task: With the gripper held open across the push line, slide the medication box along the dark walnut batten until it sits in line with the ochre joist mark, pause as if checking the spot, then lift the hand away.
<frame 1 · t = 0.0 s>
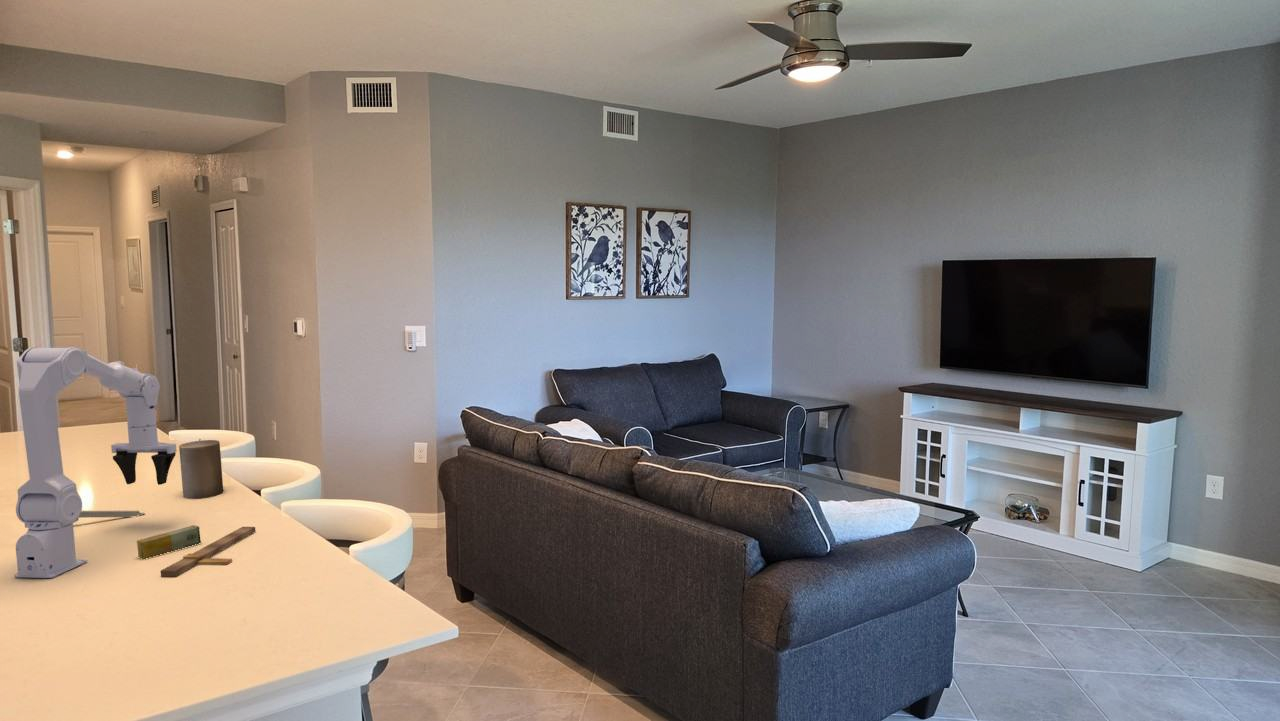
hand: (146, 483, 192), 10 cm above the counter, tool pointing down, fingers open, 7 cm apart
pillar candle: (203, 494, 222), on the counter
joist batten: (211, 552, 174), on the counter
medication box: (170, 552, 176), on the counter
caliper: (95, 524, 197), on the counter
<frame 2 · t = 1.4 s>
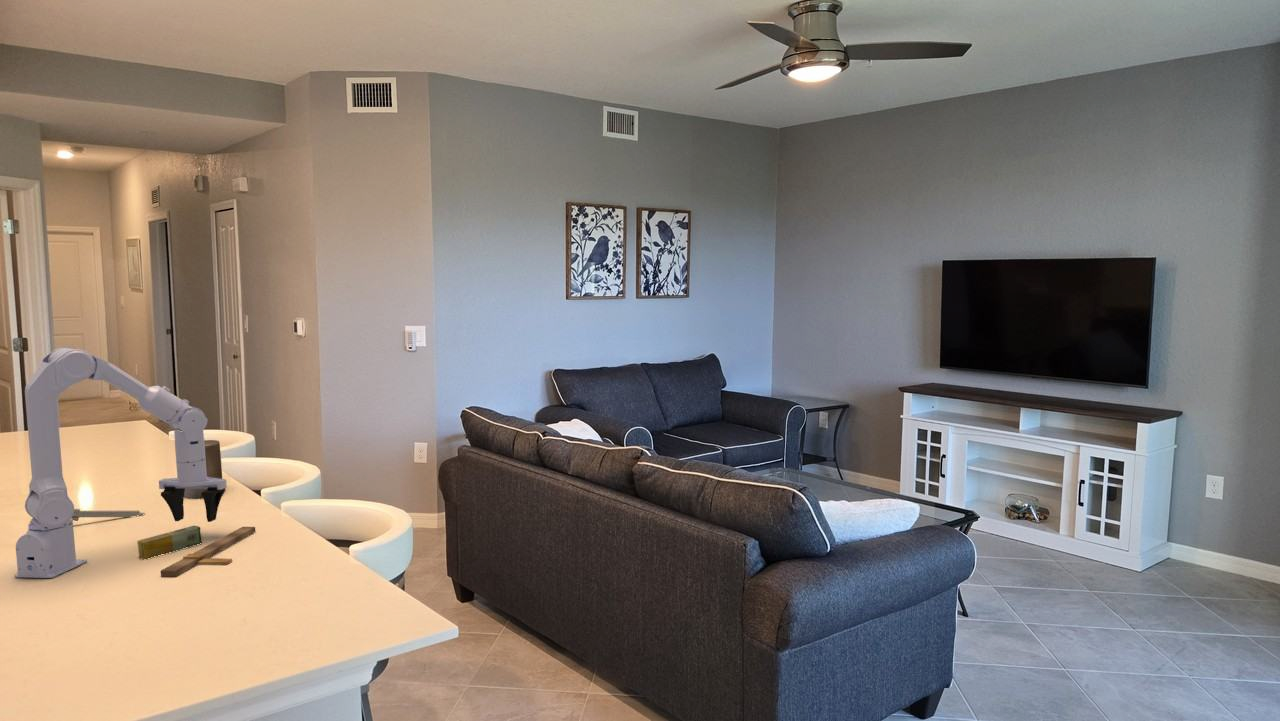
hand: (195, 520, 185), 4 cm above the counter, tool pointing down, fingers open, 7 cm apart
nothing on the counter moved.
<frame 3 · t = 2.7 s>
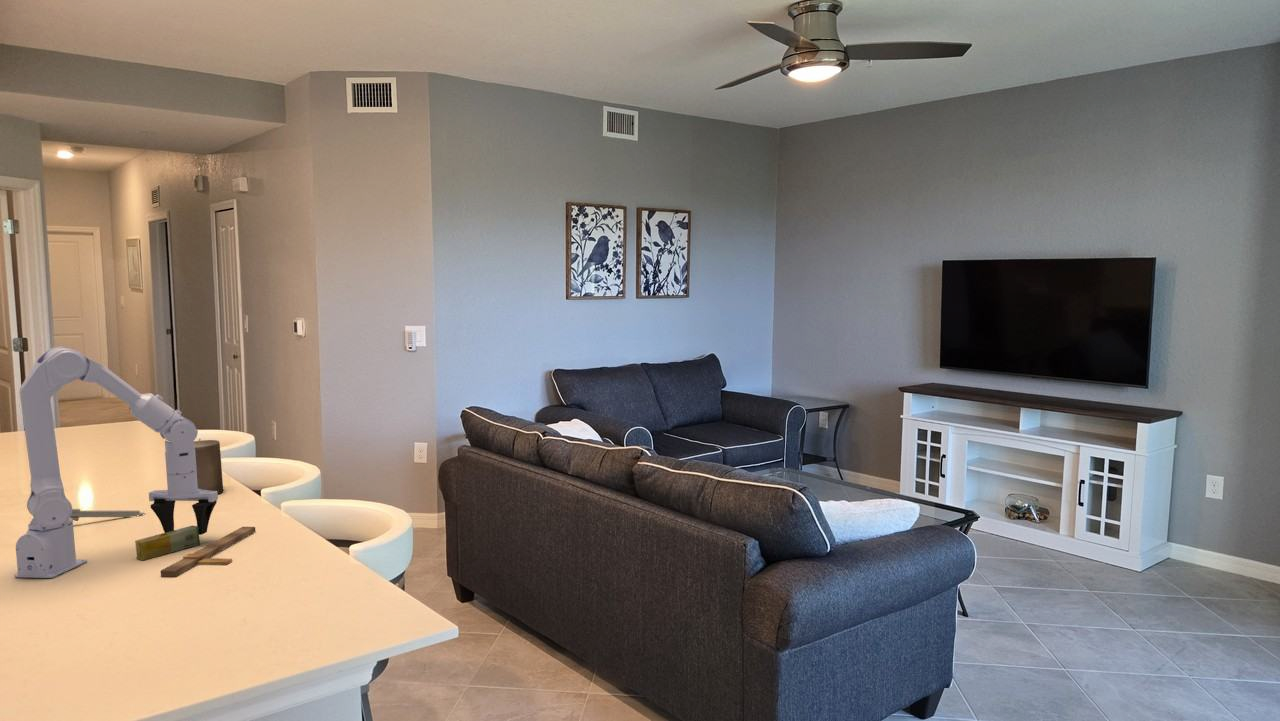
hand: (186, 533, 181), 2 cm above the counter, tool pointing down, fingers open, 7 cm apart
medication box: (168, 552, 175), on the counter, touching gripper
everything else where it was.
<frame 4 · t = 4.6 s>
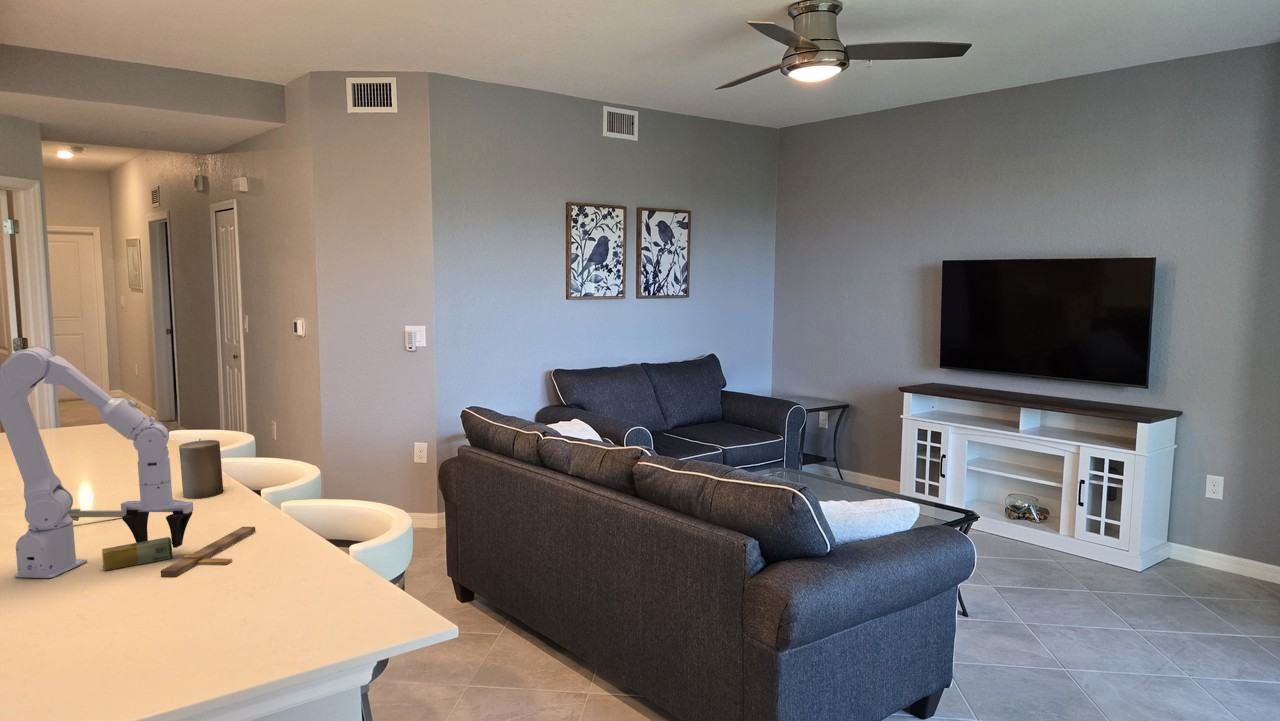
hand: (160, 545, 173), 2 cm above the counter, tool pointing down, fingers open, 7 cm apart
medication box: (138, 563, 168), on the counter, touching gripper
everything else where it was.
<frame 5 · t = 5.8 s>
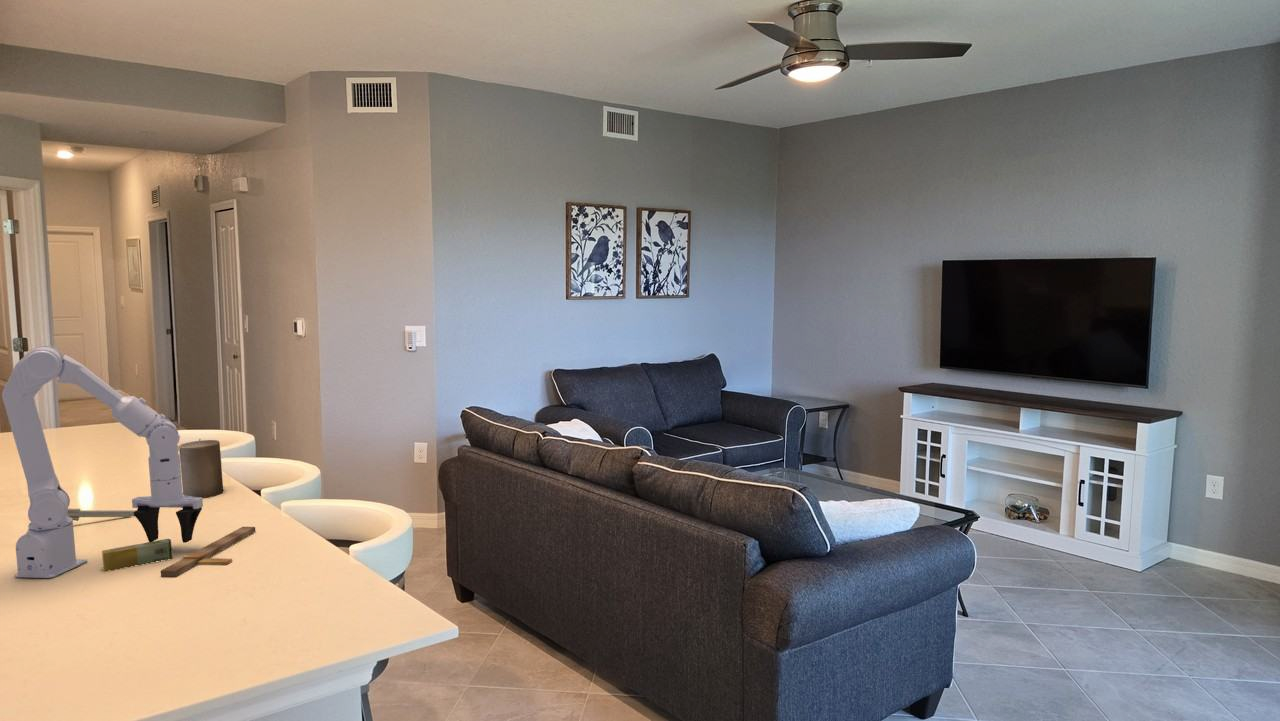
hand: (170, 540, 176), 2 cm above the counter, tool pointing down, fingers open, 7 cm apart
medication box: (138, 565, 168), on the counter
everything else where it was.
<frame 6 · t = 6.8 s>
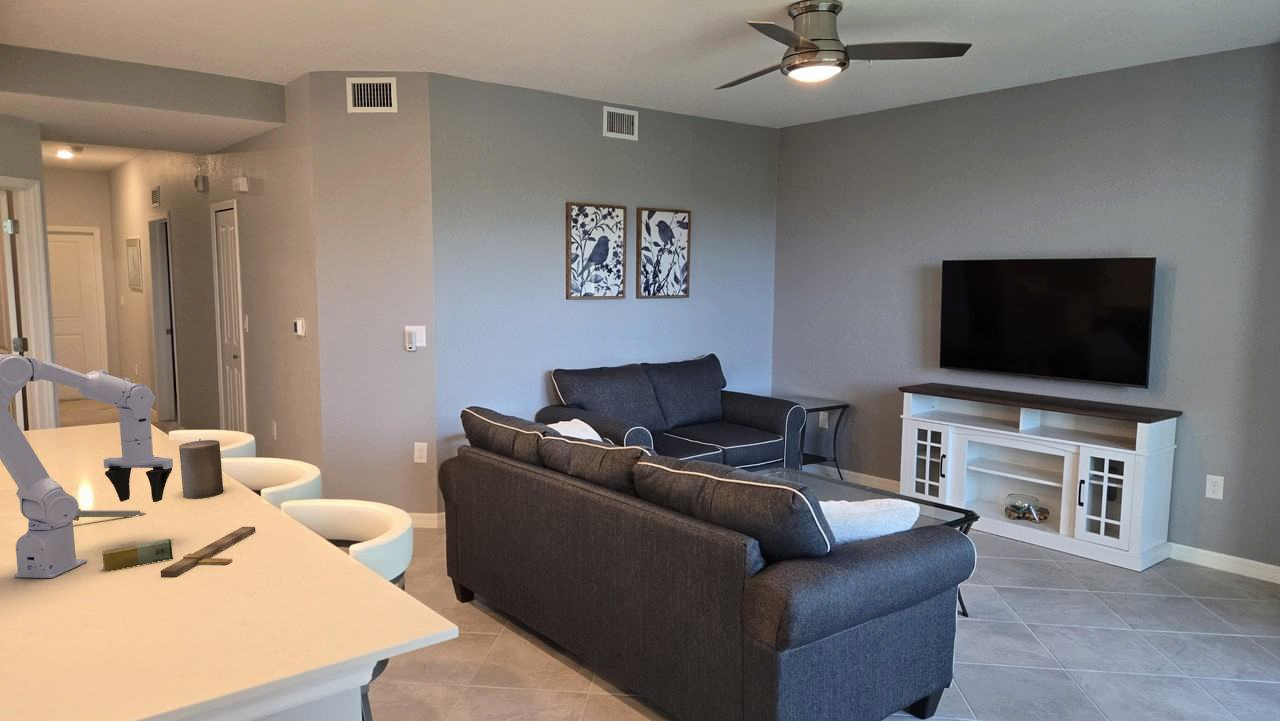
hand: (141, 500, 180), 9 cm above the counter, tool pointing down, fingers open, 7 cm apart
nothing on the counter moved.
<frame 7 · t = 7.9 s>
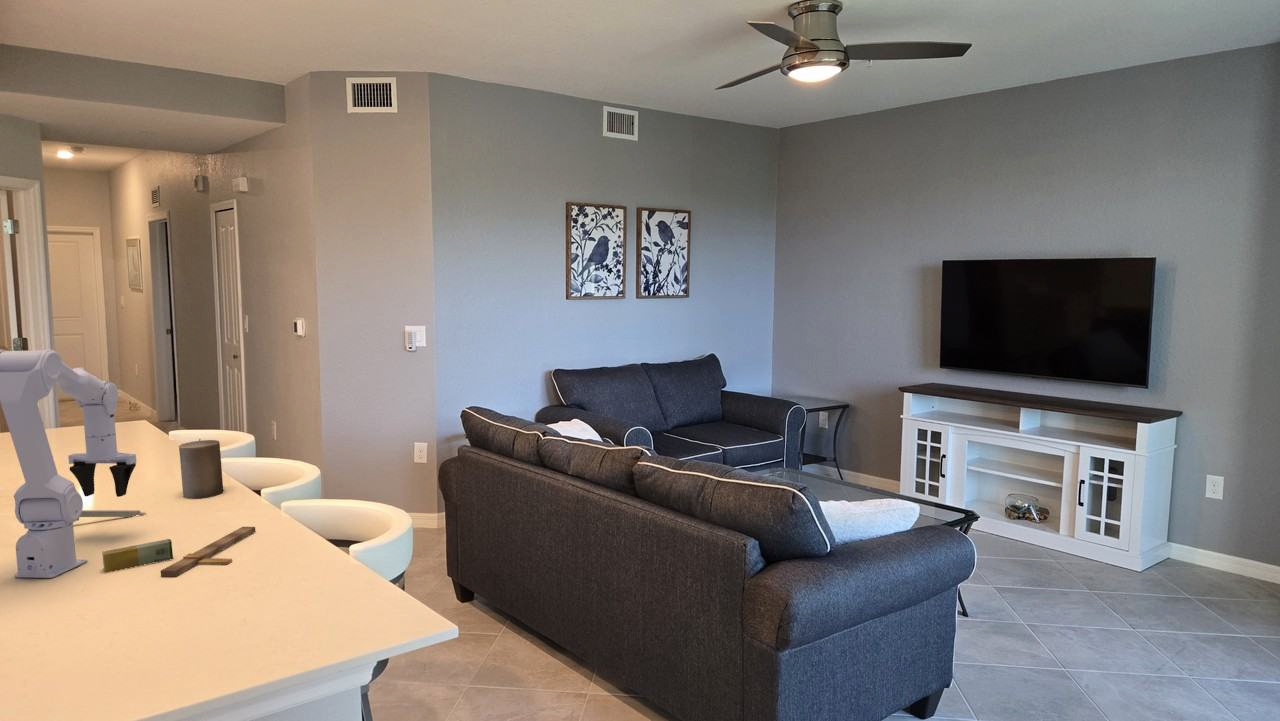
hand: (105, 495, 185), 9 cm above the counter, tool pointing down, fingers open, 7 cm apart
nothing on the counter moved.
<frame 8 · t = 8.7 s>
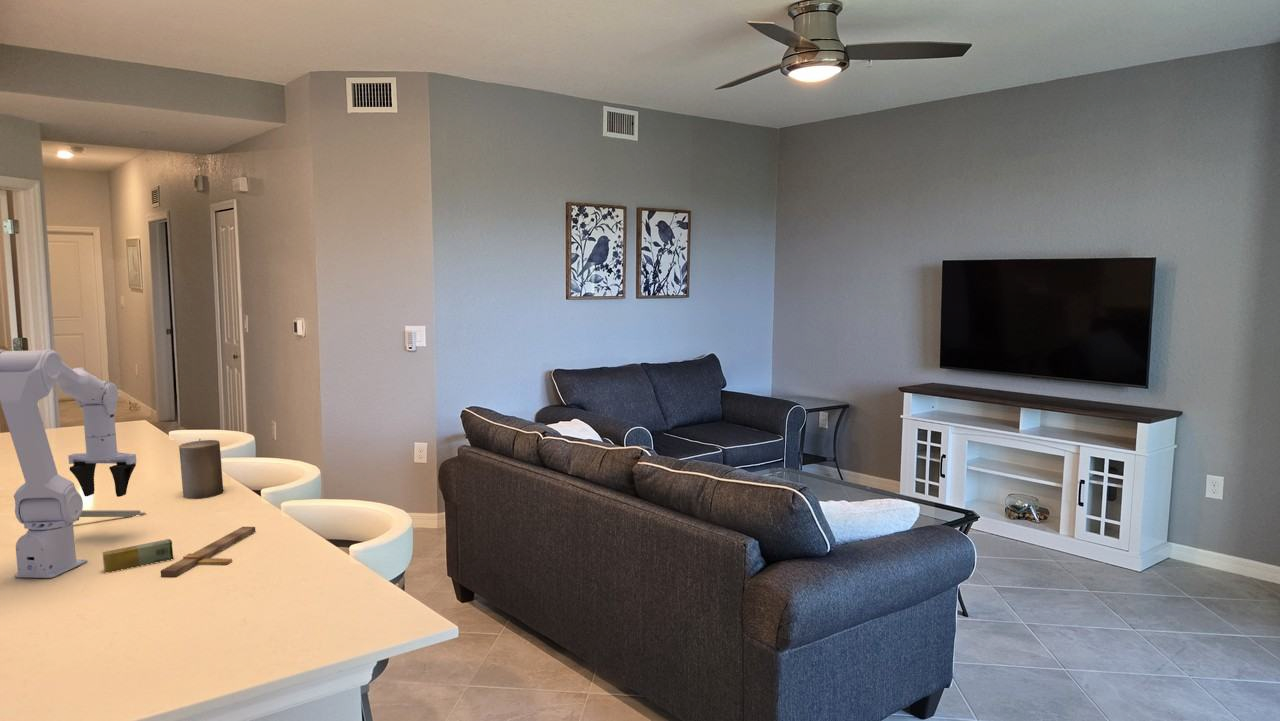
hand: (105, 495, 185), 9 cm above the counter, tool pointing down, fingers open, 7 cm apart
nothing on the counter moved.
at the end: medication box 1.7 cm from the target spot, on the counter; medication box moved 8.6 cm from its start; medication box tilted 1° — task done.
